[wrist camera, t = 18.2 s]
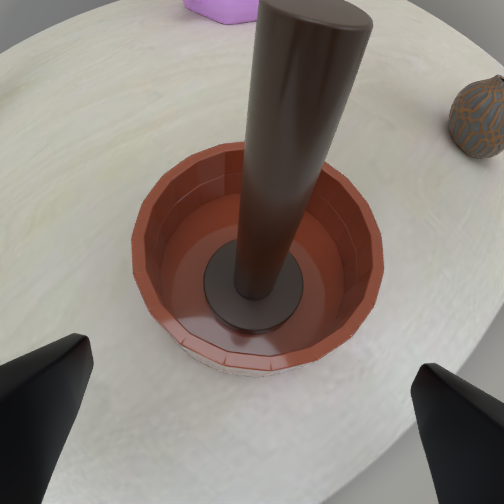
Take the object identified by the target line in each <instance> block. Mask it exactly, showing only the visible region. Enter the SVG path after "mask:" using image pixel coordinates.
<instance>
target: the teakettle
mask: <svg viewBox="0 0 504 504" xmlns="http://www.w3.org/2000/svg"><path fill="white" fill-rule="evenodd" d="M183 2H184V4H185V6H186V8H188V9H190V10H192V11H194V12H196V13H199V14H201V15H203V16H205V17H208V18H210V19H212V20H215V21H217V22H220V23H222V24H238V23H245V22H251V21H257V13H258V4H259V0H183Z"/></svg>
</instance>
